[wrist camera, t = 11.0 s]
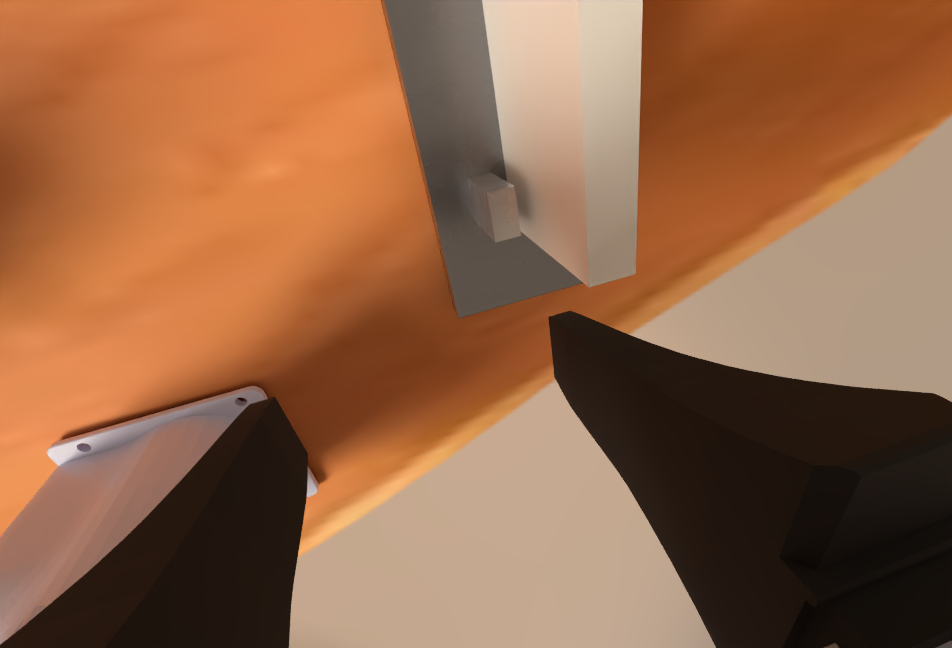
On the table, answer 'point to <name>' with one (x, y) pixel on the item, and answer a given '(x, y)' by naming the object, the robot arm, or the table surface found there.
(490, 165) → the rail
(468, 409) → the table surface
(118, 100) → the table surface
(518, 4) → the cabinet door
